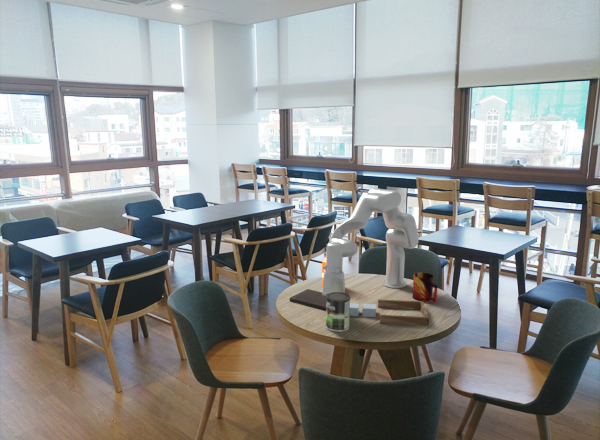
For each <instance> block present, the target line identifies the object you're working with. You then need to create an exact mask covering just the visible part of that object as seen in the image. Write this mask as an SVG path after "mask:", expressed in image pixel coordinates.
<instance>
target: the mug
mask: <svg viewBox="0 0 600 440" xmlns="http://www.w3.org/2000/svg"><path fill="white" fill-rule="evenodd" d="M412 299H413V301H423V303H424V302H427V301H428V302H433V303H435V304H437V301H438V284H435V283H434V275H433V274H431V273H428V272H415V273H414V274H413V281H412Z"/></svg>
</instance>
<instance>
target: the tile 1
mask: <svg viewBox="0 0 600 440" xmlns="http://www.w3.org/2000/svg"><path fill="white" fill-rule="evenodd" d="M359 308H360V303H355V302H350V312H349V317H350V316H351V317H358V316H359V312H360V309H359Z"/></svg>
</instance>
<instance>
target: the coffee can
mask: <svg viewBox="0 0 600 440" xmlns="http://www.w3.org/2000/svg"><path fill="white" fill-rule="evenodd" d="M350 303H351V295H350V294H348V293H346V292H345V293H342V292H332V293H329V294H327V295H326V311H325V312H326V313H325V328H326V329H327V330H328V331H332V332H335V333H336V332H337V333H340V332H345V331H348V330H349V328H350V316H349V312H350Z"/></svg>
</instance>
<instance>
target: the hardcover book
mask: <svg viewBox="0 0 600 440" xmlns="http://www.w3.org/2000/svg"><path fill="white" fill-rule="evenodd" d="M289 302H292V303H295V304H298V305H302V306H307V307H310V308H314V309H318V310H322V311H325V312H326V296H325V295H322V291H317V290H314V289H309V288H307V289H305V290H303V291H301V292H299V293H296V294H295V295H293V296H290V297H289Z"/></svg>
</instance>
